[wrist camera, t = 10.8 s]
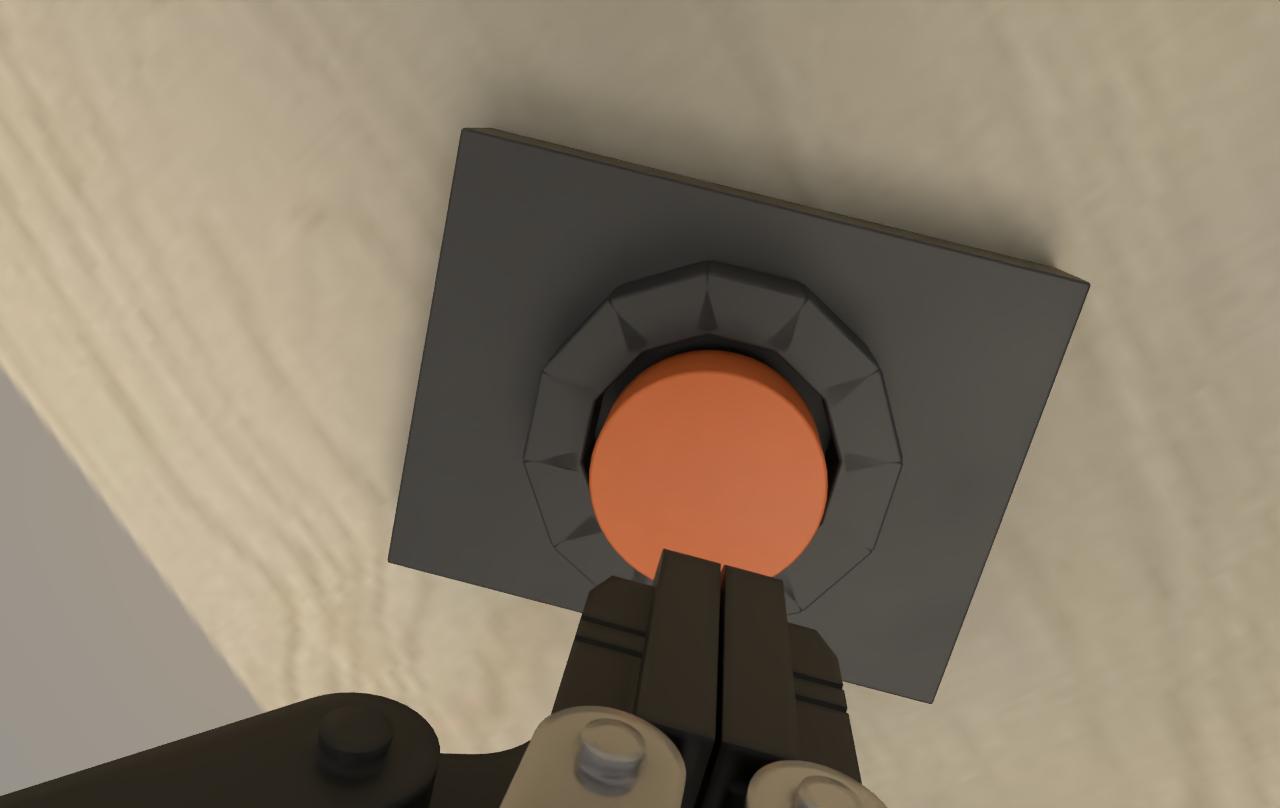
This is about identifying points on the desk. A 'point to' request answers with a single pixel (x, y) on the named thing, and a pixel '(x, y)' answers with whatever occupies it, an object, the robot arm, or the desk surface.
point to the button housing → (735, 322)
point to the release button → (709, 465)
